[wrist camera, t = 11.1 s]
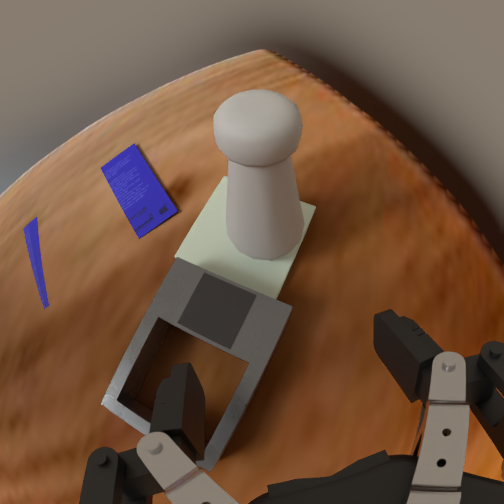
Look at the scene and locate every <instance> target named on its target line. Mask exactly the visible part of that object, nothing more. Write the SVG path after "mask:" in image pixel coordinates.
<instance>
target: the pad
mask: <svg viewBox="0 0 504 504" xmlns="http://www.w3.org/2000/svg"><path fill="white" fill-rule="evenodd" d="M227 182H228V177H226V176H224V177H223V179H222V180H221V182H220V183H219V185H218V186H217V188H216V189H215V191H214V192H213V194H212V196H211V197H210V199H209V200H208V202H207V203H206V205H205V207H204V208H203V210H202V211H201V213H200V215H199V216H198V218H197V220H196V221H195V223H194V224H193V226H192V228H191V229H190V231H189V233H188V234H187V236H186V238H185V239H184V241H183V243H182V244H181V246H180V248H179V249H178V251H177V253H176V255H175V256H174V257H175V259H176V258H177V257H179V258H181V259H183V260H186V261H188V262H190V263H192V264H195V265H197V266H199V267H201V268H204V269H206V270H208V271H210V272H213V273H215V274H217V275H219V276H222V277H224V278H226V279H229V280H231V281H233V282H236V283H238V284H240V285H243V286H245V287H247V288H250V289H252V290H254V291H257V292H259V293H262V294H264V295H266V296H269V297H271V298H273V299H277V297H278V295H279V293H280V291H281V288H282V286H283V284H284V282H285V279H286V277H287V275H288V273H289V270H290V268H291V266H292V264H293V261H294V259H295V257H296V255H297V252H298V250H299V248H300V245H301V243H302V241H303V238H304V236H305V234H306V231H307V229H308V227H309V224H310V222H311V219H312V217H313V215H314V212H315V209H316V206H313V205H310V204H307V203H305V202H302V201H300V204H301V208H302V213H303V218H304V223H305V225H304V229H303V233H302V237H301V240H300V242H299V243H298V244H297V245H296V246H295V247H294V248H293V249H292V250H291V251H290V252H289V253H288V254H286V255H284V256H281V257H279V258H276V259H274V260H271V261H270V260H260V259H253V258H251V257H249V256H247V255H245V254H242V253H240V252H239V251H238V250H237V249H236V247H235V246H234V244H233V243H232V241H231V240H230V238H229V237H228V234H227V227H226V203H227Z"/></svg>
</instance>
